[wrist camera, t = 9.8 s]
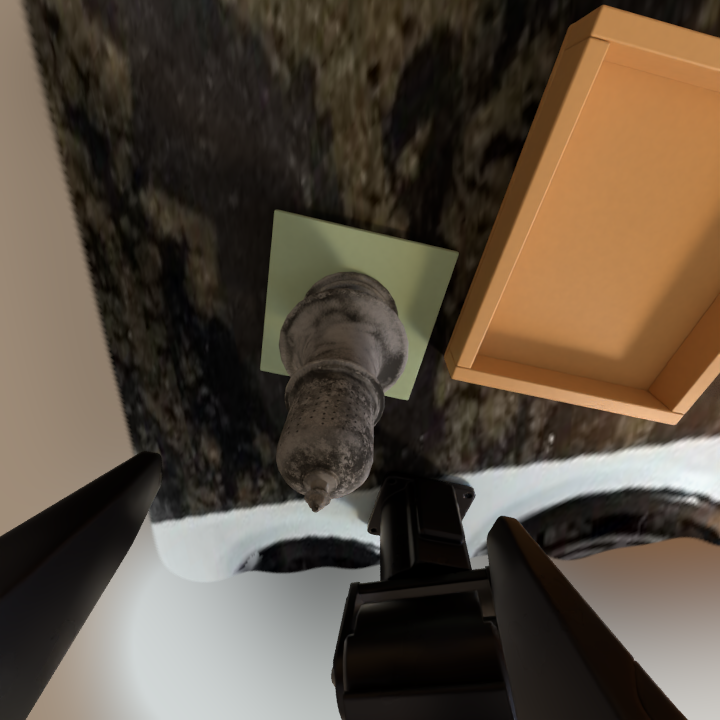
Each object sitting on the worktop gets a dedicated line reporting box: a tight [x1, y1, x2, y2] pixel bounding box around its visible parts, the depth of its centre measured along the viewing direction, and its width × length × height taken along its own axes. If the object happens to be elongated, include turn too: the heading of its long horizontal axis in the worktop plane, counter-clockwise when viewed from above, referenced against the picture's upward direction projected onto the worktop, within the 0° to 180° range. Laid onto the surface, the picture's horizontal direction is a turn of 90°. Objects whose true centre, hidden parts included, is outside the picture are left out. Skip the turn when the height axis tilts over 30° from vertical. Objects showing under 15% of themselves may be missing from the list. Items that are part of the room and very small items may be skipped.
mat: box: [260, 210, 459, 400], centre depth 20 cm, size 9×9×1 cm
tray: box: [444, 5, 720, 425], centre depth 17 cm, size 15×13×2 cm
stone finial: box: [276, 272, 409, 512], centre depth 14 cm, size 6×6×12 cm
